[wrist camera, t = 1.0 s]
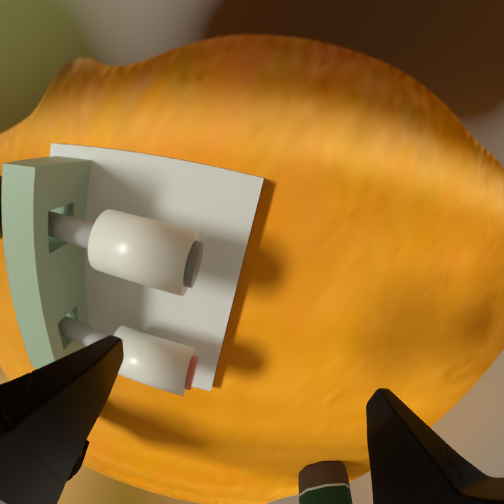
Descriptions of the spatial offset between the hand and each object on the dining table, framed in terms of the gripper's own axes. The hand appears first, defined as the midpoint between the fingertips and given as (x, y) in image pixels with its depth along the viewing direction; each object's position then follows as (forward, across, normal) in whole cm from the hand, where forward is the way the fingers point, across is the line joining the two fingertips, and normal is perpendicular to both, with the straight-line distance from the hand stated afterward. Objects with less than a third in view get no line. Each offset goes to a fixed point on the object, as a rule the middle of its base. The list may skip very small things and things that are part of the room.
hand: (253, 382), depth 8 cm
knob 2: (+10, +9, +9) cm, 17 cm away
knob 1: (+10, +10, 0) cm, 14 cm away
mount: (+12, +11, +5) cm, 17 cm away
